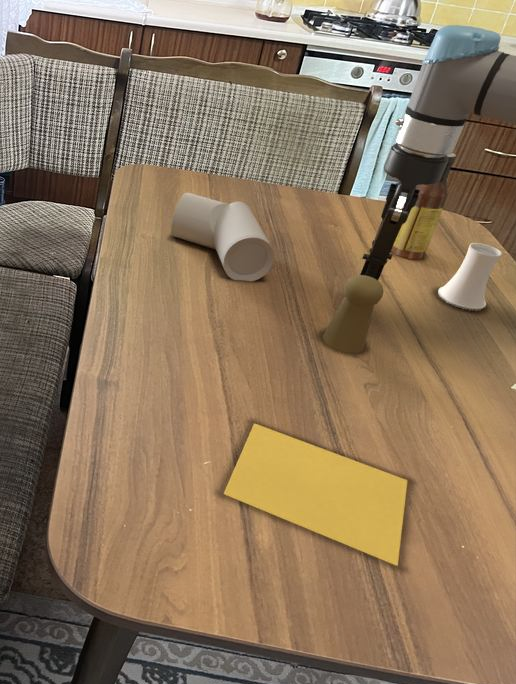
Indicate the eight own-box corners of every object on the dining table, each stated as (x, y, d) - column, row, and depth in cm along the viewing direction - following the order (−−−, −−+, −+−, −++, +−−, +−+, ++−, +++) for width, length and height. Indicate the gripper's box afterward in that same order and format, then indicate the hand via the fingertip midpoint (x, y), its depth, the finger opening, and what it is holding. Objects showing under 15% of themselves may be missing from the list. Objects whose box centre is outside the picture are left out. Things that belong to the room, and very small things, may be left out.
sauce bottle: (427, 255, 133) (471, 155, 121) (416, 264, 129) (461, 162, 117) (393, 243, 136) (434, 145, 125) (382, 252, 132) (422, 151, 121)
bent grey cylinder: (290, 248, 126) (189, 218, 134) (303, 199, 119) (196, 170, 127) (257, 304, 116) (150, 267, 124) (270, 254, 109) (155, 219, 116)
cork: (333, 355, 100) (359, 290, 94) (314, 333, 105) (337, 269, 99) (370, 354, 101) (398, 290, 95) (350, 332, 106) (375, 269, 100)
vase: (437, 286, 122) (461, 235, 116) (484, 299, 119) (510, 248, 113) (434, 303, 116) (459, 250, 111) (482, 318, 114) (511, 264, 108)
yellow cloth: (406, 482, 79) (407, 480, 79) (396, 568, 68) (397, 565, 68) (253, 425, 85) (254, 423, 85) (222, 496, 74) (223, 493, 74)
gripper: (396, 132, 101) (343, 273, 114) (388, 154, 91) (330, 306, 104) (451, 144, 98) (390, 286, 111) (449, 168, 88) (382, 321, 102)
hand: (361, 296), depth 108 cm, fingers closed
